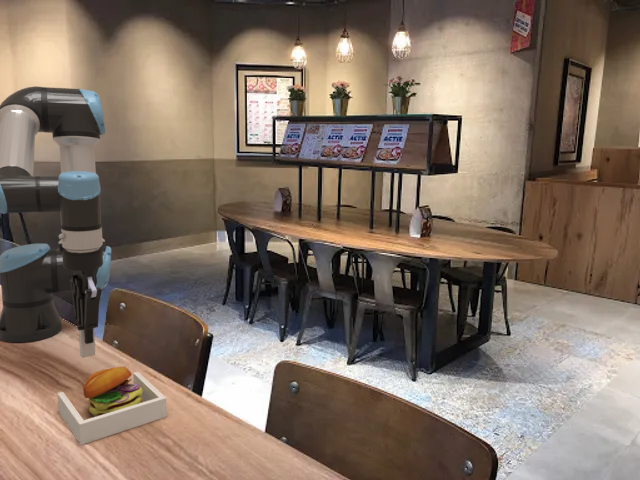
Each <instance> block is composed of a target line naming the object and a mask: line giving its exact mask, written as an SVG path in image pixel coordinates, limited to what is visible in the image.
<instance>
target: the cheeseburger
mask: <svg viewBox="0 0 640 480" xmlns="http://www.w3.org/2000/svg"><path fill="white" fill-rule="evenodd" d="M131 376H133V374H132V372H131V371H130V370H129V368H127V367H126V366H116V367H111V368H105V369H101V370H98V371H95V372H94V373H92V374H91V375H90V376H89V377H88V378H87V380H86V381H85V383H84V386H83V397H84V398H85V399H88V403H89V406H88V409H89V413H91V415H93V416H94V417H97V416H100V415H103V414H106V413H110V412H113V411H116V410H120V409H123V408H126V407H129V406H133V405H136V404H139V403H143V399H142V393H143V390H142V388H141V387H140V386H139V385H137V384H134V383H130V382H131V381H132V378H131ZM129 378H130V379H129Z"/></svg>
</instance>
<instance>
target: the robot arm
mask: <svg viewBox="0 0 640 480" xmlns="http://www.w3.org/2000/svg"><path fill="white" fill-rule="evenodd" d="M38 133H48V134H49V133H50V134H52V141H54V142H55V144H56V145H58V147H59V158H60V159H59V162H60V174H59V175H58V176H39V175H38V176H34V170H35V167H34V166H35V149H36V148H35V146H36V144H35V141H36V135H37V134H38ZM105 134H106V124H105V117H104V112H103V107H102V102H101V98H100V96H99V94H98V93H97V92H96V91H94V90H88V89H81V88H70V87H69V88H64V87H48V86H47V87H46V86H45V87H44V86H29V87H25V88H21V89H19V90H17V91H15V92H13V93H12V94H10V95H8V96H7V97H6V98H5V99H4V100H3V101H2V102H1V103H0V214H1V215H2V214H3V215H4V214H19V213H20V214H23V213H26V214H27V213H59V214H60V215H59V216H60V231H61V233H60V234H58V238H59V241H58V248H57V249H53V248H52V249H51V247H50V245H49V244H48V243H31V244H30V243H29V244H24V245H20V246H15V247H11V248H9V249H7V250H5V251H3V252H2V253H1V254H0V286H1V299H2V310H1V313H0V340H1V341H2V342H7V343H30V342H36V341H40V340H44V339H48V338H51V337H53V336H55V335H57V334H58V333H60V332H61V330H62V328H63V327H62V319H61V317H60V315H59V312H58V311H57V308H56V306H55V303H54V299H53V294H57V293H70V292H71V298H72V305H73V307H72V309H73V315H74V320H75V321H77V322H76V324H77V329H78V340H79V355H80V357H81V359H85V358H89V357H93V356H96V355H97V354H96V339H95V337H96V336H95V335H96V334H95V328H98V327H99V316H100V315H99V313H100V310H99V309H100V297H101V292H102V289H105V288H106V287H107V285H108V283H109V281H110V274H111V264H112V248H111V247H110V246H109V245H107V246H106V240H105V239H104V238H103V226H102V217H101V216H102V210H101V209H102V208H101V207H102V206H101V205H102V203H101V192H102V191H101V189H102V188H101V183H100V177H99V174H97V171H96V170H97V169H96V153H95V149H96V148H95V147H96V146H97V144H99V143H100V142H101V136H103V135H105Z"/></svg>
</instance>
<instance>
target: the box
mask: <svg viewBox="0 0 640 480" xmlns="http://www.w3.org/2000/svg"><path fill="white" fill-rule="evenodd" d="M132 376H133V377H132V379H133V381H132V382H133V384H137V385H139V386H140V387H141V388H142V390H143V393H142V403H139V404H136V405H133V406H129V407H126V408H123V409H120V410H116V411H113V412H110V413H106V414H103V415H100V416H97V417H95V416H94V417H90V418H87V419H85V420H84V418H83V417H82V416H81V414H80V413H79V412H78V410H77V409H76V408H75V407H74V405H73V404H72V402H71V401H70V400H69V398H68V396H66V394H65V393H64V392H63V391H60V392H57V409H58V413H59V415H60V416H61V418H62V420H63V421H64V423H65V424H66V425H67V427H68V428H69V430H70V431H71V433H72V434H73V435H74V437H75V439H76V440H77V442H78V444H79V445H80V446H82V445H85V444H86V445H87V444H88V443H91V442H95V441H97V440H101V439H103V438H107V437H109V436H113V435H115V434H119V433H121V432H122V433H123V432H125V431H127V430H128V431H129V430H130V429H134V428H136V427H139V426H143V425H146V424H149V423H151V422H155V421H159V420H160V419H164V418H167V397H166V396H165V395H164V394H162V393H161V392H160V390H158V389H157V388H156V387H155V386H154V385H153V384H152V383H151V382H149V381H148V380H147V378H145V376H143V375H142V374H141V373H140V372H139V371H135V372H133V374H132Z"/></svg>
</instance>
